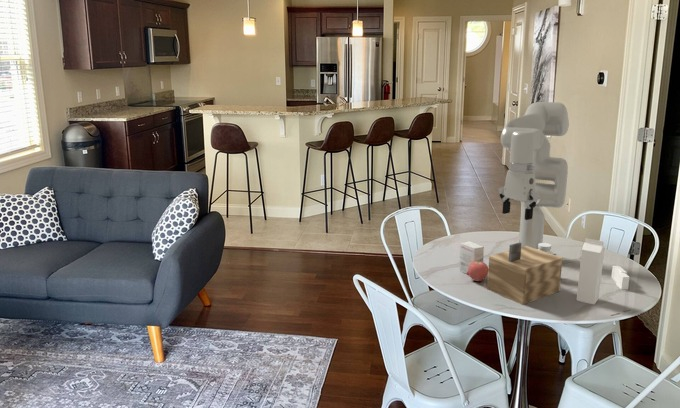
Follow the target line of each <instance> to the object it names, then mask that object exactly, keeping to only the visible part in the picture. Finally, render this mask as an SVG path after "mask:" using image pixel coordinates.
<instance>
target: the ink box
mask: <svg viewBox="0 0 680 408" xmlns="http://www.w3.org/2000/svg"><path fill="white" fill-rule="evenodd" d="M459 246H460V247H459V272H461V273H463V274H466V275H468V276H470V275H469V273H468V267H469V265H470V264H471V263H472V262H475V261H477V260H478V261H479V262H483V263H484V252H485V251H484V250H485V249H484V248H485V247H484V246H482V245H479V244H478V243H475V242H472V241H471V240H469V241H463V242H461V243H459Z"/></svg>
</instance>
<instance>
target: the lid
mask: <svg viewBox="0 0 680 408" xmlns="http://www.w3.org/2000/svg"><path fill="white" fill-rule="evenodd" d="M521 245H522V243H520V242H519V241H518V242H516V243H512V244H509V248H508V249H509V250H506V251H503V252H499V253H495V254H492V255H489V256H488V257H489V258H490V259H493V260H496V261H498V262H501V263H504V264H506V265H509V266H512V267H514V268H517V269H520V270H522V271H525V272H526V271H529V270H532V269H535V268H538V267H542V266H545V265H548V264H551V263H554V262H558V261H561V260H562V261H563V257H562V256H558V255H554V253H553V254H549V253H546V252H543V251H540V250H537V249H534V248H531V247H528V246H524V247H521ZM489 258H488V259H489Z"/></svg>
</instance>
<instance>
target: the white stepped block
mask: <svg viewBox="0 0 680 408" xmlns="http://www.w3.org/2000/svg"><path fill="white" fill-rule="evenodd" d="M610 276H611V277H610V278H611V279H612V280H613V281H614V282H615V285H616V286H617V287H618V288H619V289H620V290H623V291H624V290H626V291H627V290H629V285H630V276H629V275H628V272H627V271H626V270H625V269H624V268H622V267H621V266H620V265H612V269H611V275H610Z"/></svg>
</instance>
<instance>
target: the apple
mask: <svg viewBox="0 0 680 408" xmlns="http://www.w3.org/2000/svg"><path fill="white" fill-rule="evenodd" d="M488 269H489V265H487V264H486V263H485V262H484V261H483V262H479V261H478V260H477V261H475V262H472V263H471V264H470V265H469V267H468V273H469V275H468V276H469V277H470V279H472V281H475V282H481V281H484V280H485V279H486V278H487V277H488Z"/></svg>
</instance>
